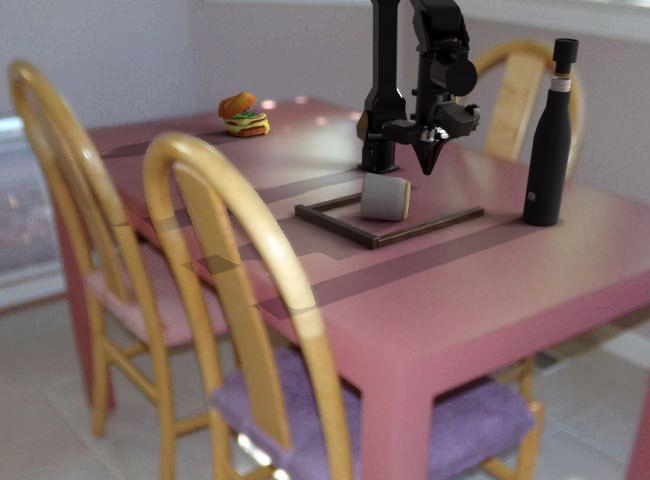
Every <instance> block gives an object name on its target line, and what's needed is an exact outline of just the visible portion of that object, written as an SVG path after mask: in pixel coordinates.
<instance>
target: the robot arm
mask: <svg viewBox="0 0 650 480" xmlns="http://www.w3.org/2000/svg"><path fill="white" fill-rule="evenodd" d="M401 1H402V0H369V2H370V3H371V5H372V86H371V89H370V90H369V91H368V94H367V95H366V98H365V99H364V102H363V103H364V104H363V105H364V107H363V111H362V113H361V115H360V117H359V119H358V121H357V124H356V125H355V128H356V130H355V131H356V137H357V138H358V139H359V140H361V141H362V142H363V143H362V145H363V146H362V147H361V163H358V164H357V168H359V169H362V170H365V171H367V172H369V173H372V174H378V175H382V174H385V173H390V172H394V171H397V170H400V169H401V166H399V165H397V164H395V161H396V145H397V144H400V145H403V146H409V145H411V147H412V149H413V151H414V153H415V156H416V159H417V161H418V163H419V166H420V169H421V171H422V175H423V176H431V174H432V173H433V171H434V168H435V166H436V163H437V161H438V159H439V156H440V154H441V151H442V149H443V148H444V147H445V145H447V144H448V143H449V142H450V141H452V140H454V139H455V140H457V139H460V138H463V137H469V136H470V135H471V133H472V132H475V131H477V127H478V126H479V125H480V119H481V107H480V106H479V105H478V104H477V103H475V102H473V103H470V104H467V105H466V106H465V105H464V104H461V105H459V104H458V103H457V98H462V97H465V96H467V95H469V94H470V93H472V91H473V90H474V89H475V88H476V85H477V82H478V78H479V73H478V71H477V67H476V65H475V64H474V63H473V62H472V61H471V60H469V54H470V53H469V52H470V44H469V43H470V41H471V39H470V36H469V32H468V29H467V26H466V23H465V17H464V14H463V12H462V9H461V7H460V6H459V5H458V3H457V2H456V1H455V0H408V1H409V2H410V4H411V6H412V9H413V11H414V12H413V16H412V20H411V24H412V26H413V31H414V34H415V36H416V39H417V41H418V44H417V46H416V47H415V51H416V52H418V64H417V65H418V66H417V80H416V87H415V88H411V93H410V94H411V96H412V97H415V112H411V113H410V114H409V120H410V121H409V120H408V115H407V111H406V110H407V107H406V106H407V100H406V98H405V97H404V96H402V94H401V92H400V90H399V89H398V83H397V82H398V39H399V37H398V36H399V35H398V32H399V31H398V30H399V29H398V27H399V5H400V3H401ZM411 121H413V122H411Z"/></svg>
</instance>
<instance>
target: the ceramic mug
mask: <svg viewBox="0 0 650 480" xmlns="http://www.w3.org/2000/svg"><path fill="white" fill-rule="evenodd" d="M410 182H411V181H409V180H408V179H405V178H402V177H396V176H389V175H384V174H376V173H373V172H365V174H364V177H363V180H362V188H361V192H362V195H361V202H360V211H359V212H360V213H359V214H360V218H361V219H369V220H380V221H381V220H382V221H383V220H384V221H391V222H393V221H394V222H401V221H405V220H406V219H407V218H408V212H409V205H410V196H411V189H410V187H411V188H412V184H410Z"/></svg>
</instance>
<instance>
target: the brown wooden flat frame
mask: <svg viewBox="0 0 650 480" xmlns="http://www.w3.org/2000/svg"><path fill="white" fill-rule="evenodd" d="M409 182H410V184H411V185H413V184H412V182H411V181H409ZM411 189H412V186H411V187H410V190H411ZM361 195H362V191H360V192H357V193H353V194H349V195H348V194H347V195H345V196H340V197H337V198H333V199H329V200H324V201H321V202H317V203H312V204H308V205H304V204H302V203H300V204H296V205H294V206H293V207H294V216H295V217H296V218H297V217H298V218H300V219H302V220H303V221H306V222H308V223H311V224H313V225H315V226H318V227H320V228H322V229H324V230H327V231H329V232H331V233H334V234H336V235H338V236H341V237H343V238H345V239H348V240H350V241H352V242H354V243H357V244H359V245H361V246H364V247H366V248H368V249H370V250H376V249H379V248H382V247H386V246H389V245H392V244H395V243H398V242H402V241H404V240H408V239H412V238H414V237H418V236H421V235H423V234H427V233H430V232H434V231H437V230H440V229H442V228H445V227H449V226H452V225H455V224H456V225H457V224H459V223H461V222H465V221H468V220H471V219H474V218H477V217H481V216H484V215H485V210H486V208H485V207H482V206H475V207H471V208H468V209H465V210H462V211H459V212H455V213H452V214H449V215H445V216H442V217H438V218H435V219H432V220H429V221H425V222H422V223H419V224H415V225H412V226H409V227H405V228H402V229H399V230H395V231H392V232H388V233H386V234H383V235H379V236H378V235H376V234H373V233H372V232H369V231H366V230H363V229H361V228H359V227H356V226H354V225H352V224H349V223H347V222H344V221H343V220H340V219H337V218H335V217H332V216H331V215H328V214H325V213H323V212H327V211H330V210H334V209H338V208H342V207H347V206H350V205H354V204H357V203H361Z"/></svg>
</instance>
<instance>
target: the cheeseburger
mask: <svg viewBox="0 0 650 480" xmlns="http://www.w3.org/2000/svg"><path fill="white" fill-rule="evenodd" d="M257 100H258V99H257V98H256V97H255V96H254V95H253V94H251V93H249V92H246V91H242V92H240V93H238V94H236V95H233V96H229V97H226V98H224V99H222V100H220V102H219V104H218V109H217V115H218V117H219V118H221V119H223V121H224V124H225V127H226V129H227V131H228V133H229V134H230V135H232V136H235V137H238V138H240V137H241V138H242V137H243V138H244V137H245V138H246V137H253V136H255V135H256V136H257V135H263V134H264V135H267V134H268V133H269V131H270V124H269V122H268V118H267V115H266V113H264V112H263V111H262V110H260V109H254V110H253V109H252V107H253V105H254V104H255V103H256V102H257ZM251 109H252V110H251Z"/></svg>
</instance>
